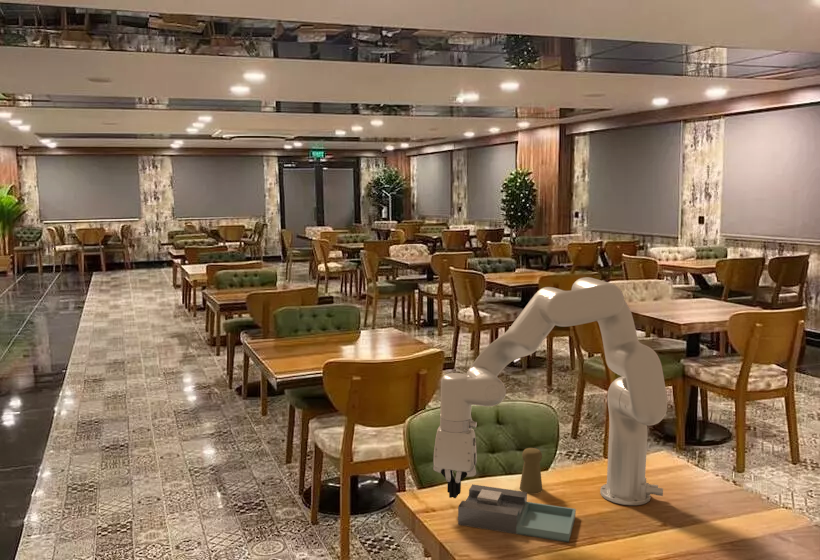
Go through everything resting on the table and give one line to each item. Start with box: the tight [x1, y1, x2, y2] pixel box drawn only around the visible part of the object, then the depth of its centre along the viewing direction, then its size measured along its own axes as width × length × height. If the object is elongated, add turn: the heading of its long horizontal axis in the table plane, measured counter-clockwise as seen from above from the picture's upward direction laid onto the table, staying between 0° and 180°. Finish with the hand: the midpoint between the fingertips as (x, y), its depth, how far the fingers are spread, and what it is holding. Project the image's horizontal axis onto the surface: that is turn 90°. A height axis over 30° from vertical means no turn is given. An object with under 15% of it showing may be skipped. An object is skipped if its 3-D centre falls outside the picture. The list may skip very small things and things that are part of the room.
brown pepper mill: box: [519, 447, 543, 495], centre depth 194 cm, size 6×6×11 cm
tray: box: [515, 501, 577, 543], centre depth 173 cm, size 12×14×2 cm
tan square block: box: [477, 489, 502, 506], centre depth 177 cm, size 5×5×2 cm
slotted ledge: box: [457, 484, 528, 535], centre depth 177 cm, size 14×14×4 cm
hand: (453, 495), depth 180 cm, fingers closed
